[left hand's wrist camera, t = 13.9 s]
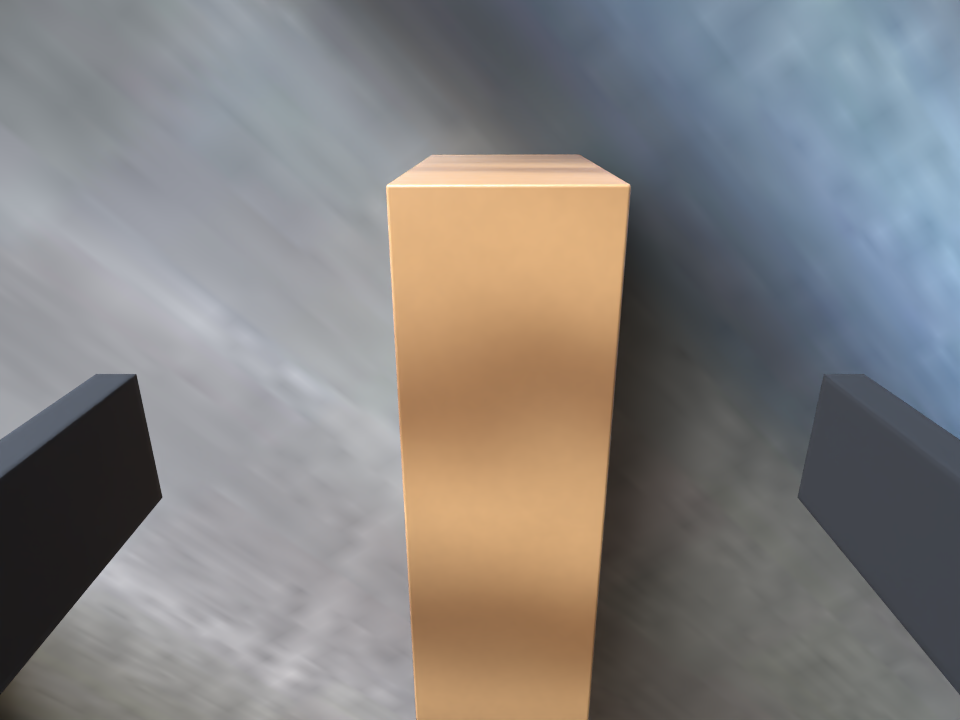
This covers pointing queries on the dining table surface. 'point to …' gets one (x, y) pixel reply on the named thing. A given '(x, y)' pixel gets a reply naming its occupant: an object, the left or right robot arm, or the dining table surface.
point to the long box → (505, 423)
